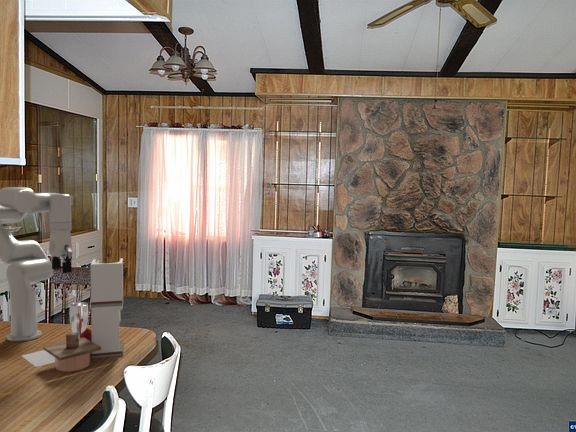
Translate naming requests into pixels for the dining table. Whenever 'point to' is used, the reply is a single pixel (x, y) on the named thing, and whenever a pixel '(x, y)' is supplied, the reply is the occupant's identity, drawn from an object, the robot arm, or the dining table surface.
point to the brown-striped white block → (106, 307)
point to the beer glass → (78, 317)
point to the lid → (72, 347)
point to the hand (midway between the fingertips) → (61, 270)
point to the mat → (39, 358)
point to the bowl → (73, 363)
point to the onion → (87, 334)
